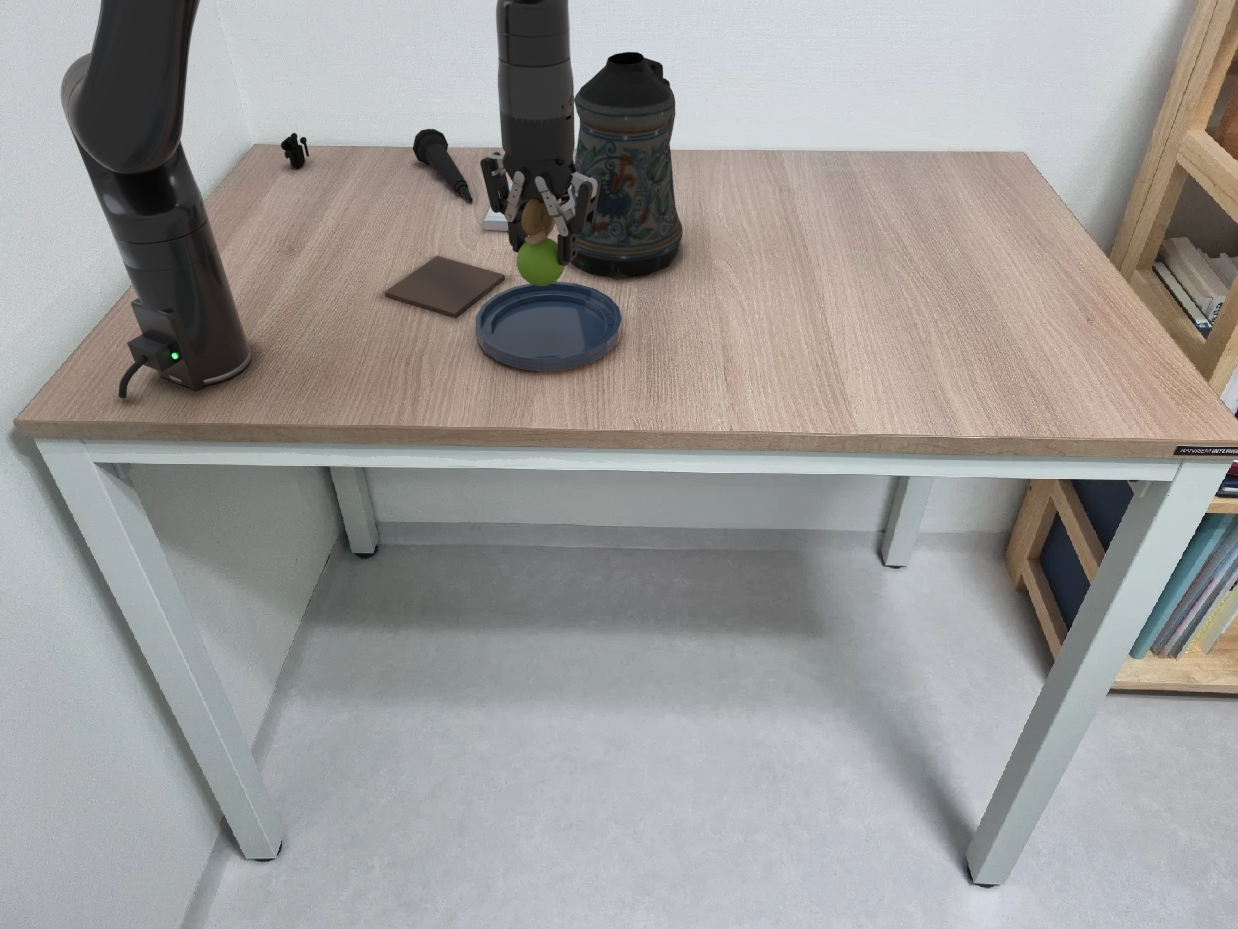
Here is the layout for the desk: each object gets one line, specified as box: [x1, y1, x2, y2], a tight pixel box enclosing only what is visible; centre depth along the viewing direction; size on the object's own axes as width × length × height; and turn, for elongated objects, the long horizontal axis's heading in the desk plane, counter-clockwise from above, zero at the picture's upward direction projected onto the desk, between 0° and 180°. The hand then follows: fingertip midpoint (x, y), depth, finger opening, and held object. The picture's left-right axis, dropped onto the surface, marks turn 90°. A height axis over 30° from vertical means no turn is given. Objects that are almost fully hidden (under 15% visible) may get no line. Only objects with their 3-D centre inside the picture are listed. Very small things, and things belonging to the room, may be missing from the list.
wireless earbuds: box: [280, 132, 310, 170], centre depth 146 cm, size 7×2×5 cm, turn 169°
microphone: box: [412, 128, 474, 203], centre depth 142 cm, size 6×6×20 cm
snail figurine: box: [516, 198, 566, 286], centre depth 101 cm, size 5×6×12 cm
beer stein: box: [570, 51, 683, 280], centre depth 119 cm, size 16×19×25 cm
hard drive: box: [483, 183, 513, 232], centre depth 134 cm, size 2×8×12 cm
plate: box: [474, 280, 623, 372], centre depth 109 cm, size 17×17×2 cm
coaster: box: [384, 255, 506, 318], centre depth 118 cm, size 11×11×1 cm
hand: (543, 255), depth 103 cm, fingers closed on snail figurine, 5 cm apart
